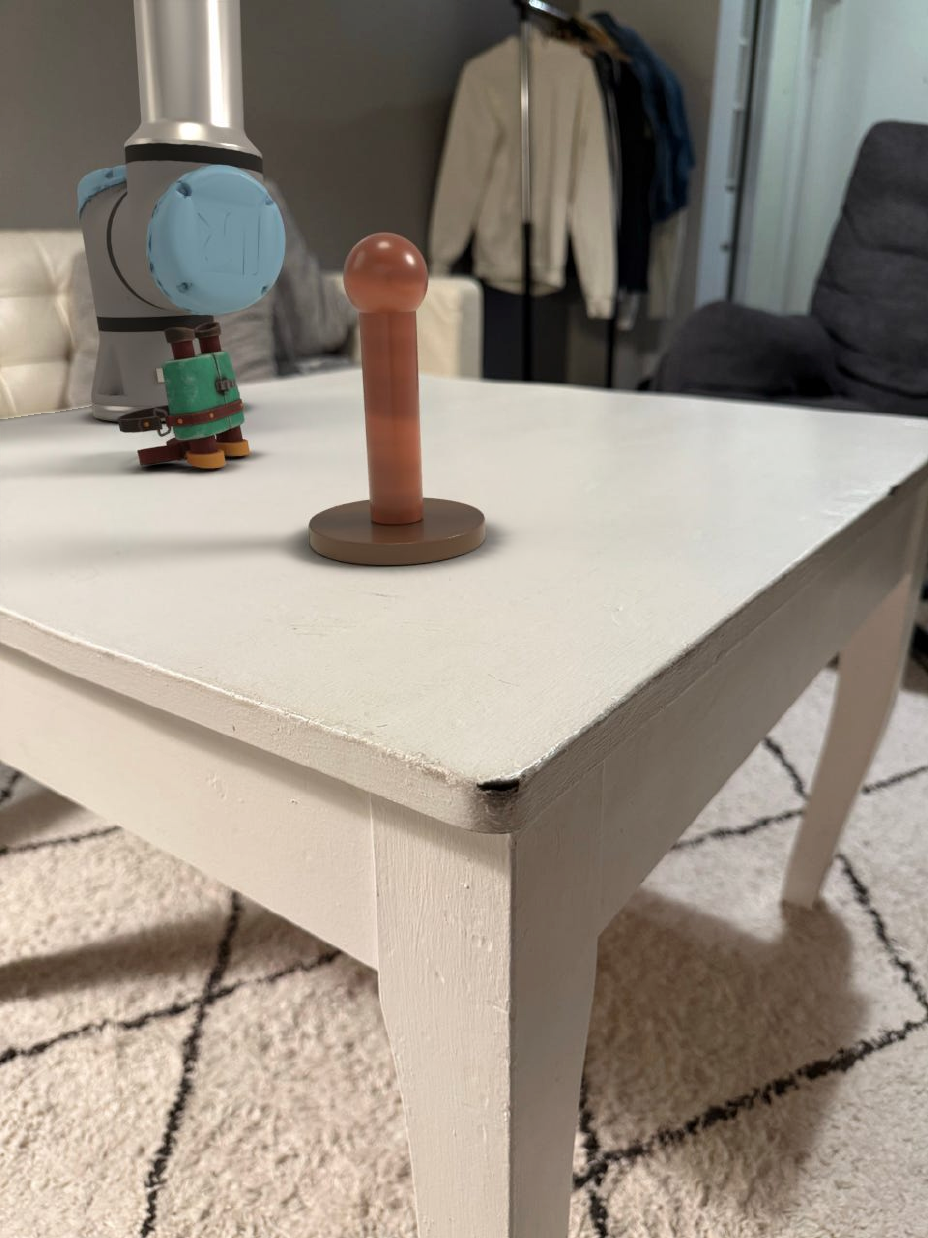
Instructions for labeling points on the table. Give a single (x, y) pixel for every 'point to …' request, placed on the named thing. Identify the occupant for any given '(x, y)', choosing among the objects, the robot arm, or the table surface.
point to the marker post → (392, 424)
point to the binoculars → (194, 404)
